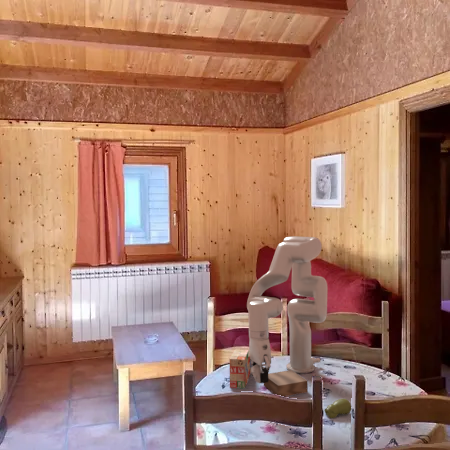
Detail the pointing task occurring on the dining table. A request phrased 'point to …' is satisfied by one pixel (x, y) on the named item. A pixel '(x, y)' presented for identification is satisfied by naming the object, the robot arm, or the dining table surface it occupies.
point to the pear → (338, 408)
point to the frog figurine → (256, 372)
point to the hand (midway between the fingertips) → (259, 378)
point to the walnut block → (286, 383)
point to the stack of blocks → (239, 368)
